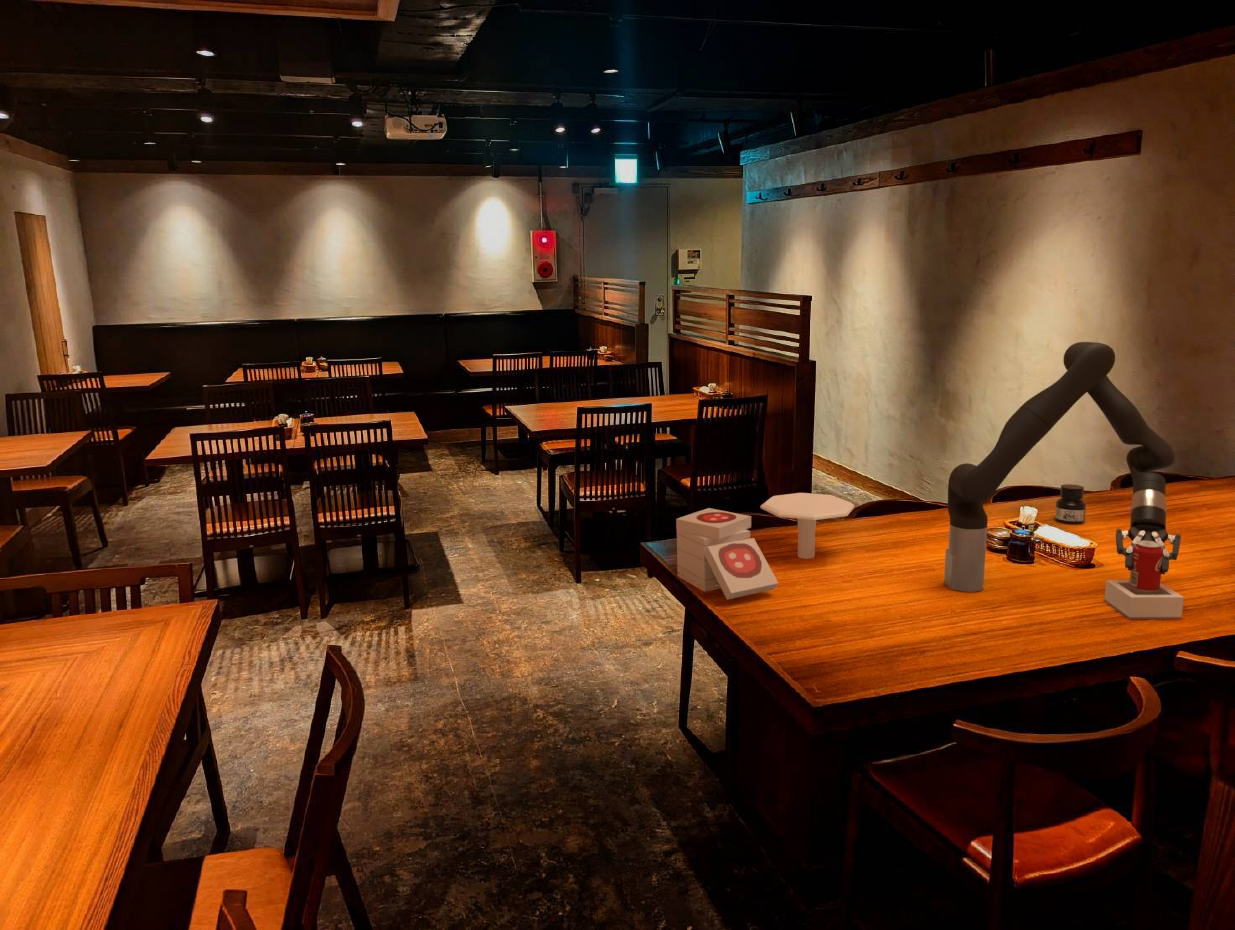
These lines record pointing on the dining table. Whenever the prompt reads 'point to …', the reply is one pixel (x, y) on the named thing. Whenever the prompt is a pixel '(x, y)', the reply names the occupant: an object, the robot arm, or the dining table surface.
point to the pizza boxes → (721, 554)
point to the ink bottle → (1070, 505)
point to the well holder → (1143, 601)
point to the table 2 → (807, 514)
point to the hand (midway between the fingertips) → (1146, 570)
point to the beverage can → (1146, 567)
